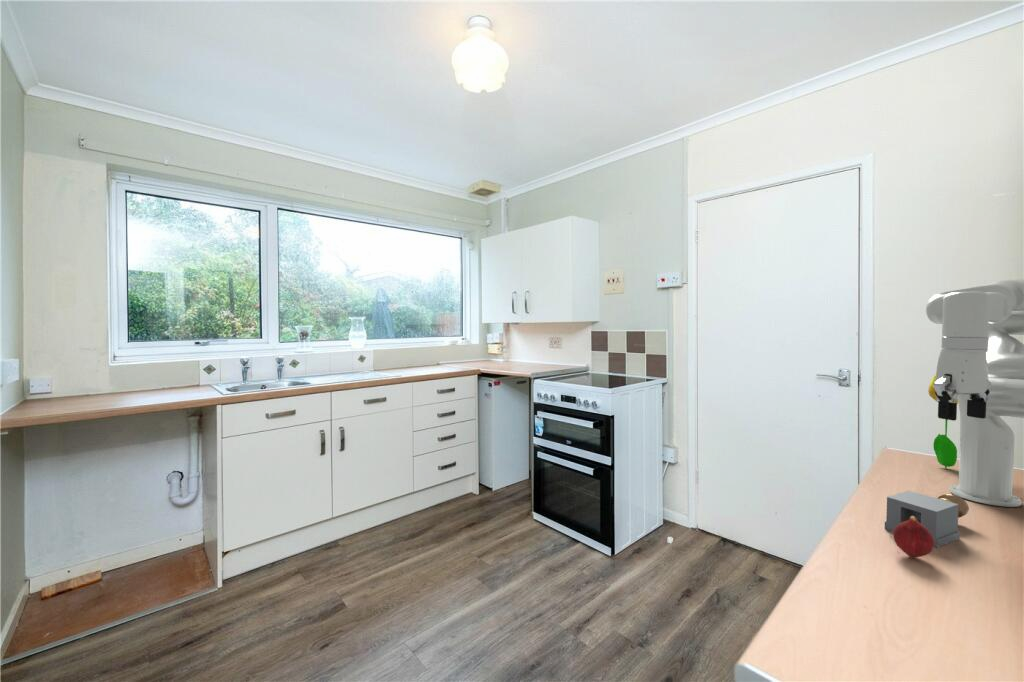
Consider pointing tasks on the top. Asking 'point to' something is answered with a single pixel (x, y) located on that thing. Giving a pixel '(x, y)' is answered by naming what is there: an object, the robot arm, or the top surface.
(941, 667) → the top surface
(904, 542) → the onion
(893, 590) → the top surface
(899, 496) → the housing
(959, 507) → the shaft
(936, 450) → the flower
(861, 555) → the top surface
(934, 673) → the top surface
